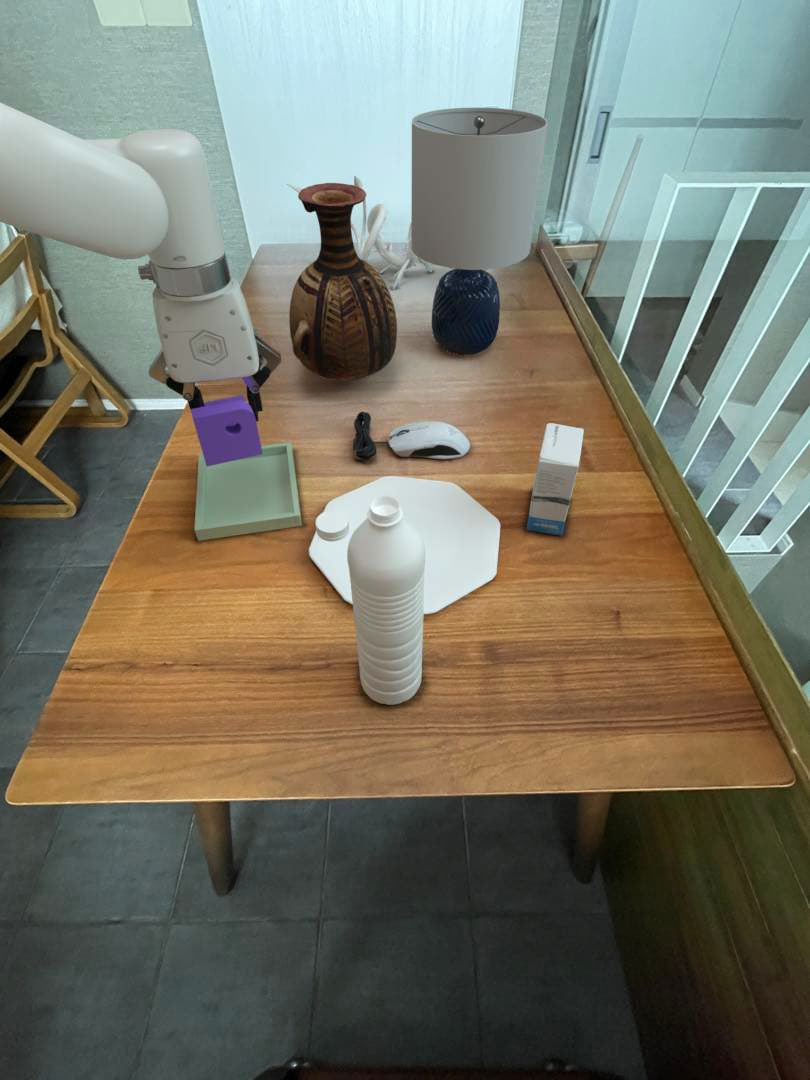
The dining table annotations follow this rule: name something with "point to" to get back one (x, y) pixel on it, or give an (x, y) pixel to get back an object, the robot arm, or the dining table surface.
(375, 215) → the white dragon statue
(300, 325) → the vase
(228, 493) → the shallow tray
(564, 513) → the ink box
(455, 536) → the plate
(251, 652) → the dining table surface
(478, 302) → the lamp
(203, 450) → the bracket
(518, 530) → the dining table surface
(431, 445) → the computer mouse
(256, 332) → the oyster shell
